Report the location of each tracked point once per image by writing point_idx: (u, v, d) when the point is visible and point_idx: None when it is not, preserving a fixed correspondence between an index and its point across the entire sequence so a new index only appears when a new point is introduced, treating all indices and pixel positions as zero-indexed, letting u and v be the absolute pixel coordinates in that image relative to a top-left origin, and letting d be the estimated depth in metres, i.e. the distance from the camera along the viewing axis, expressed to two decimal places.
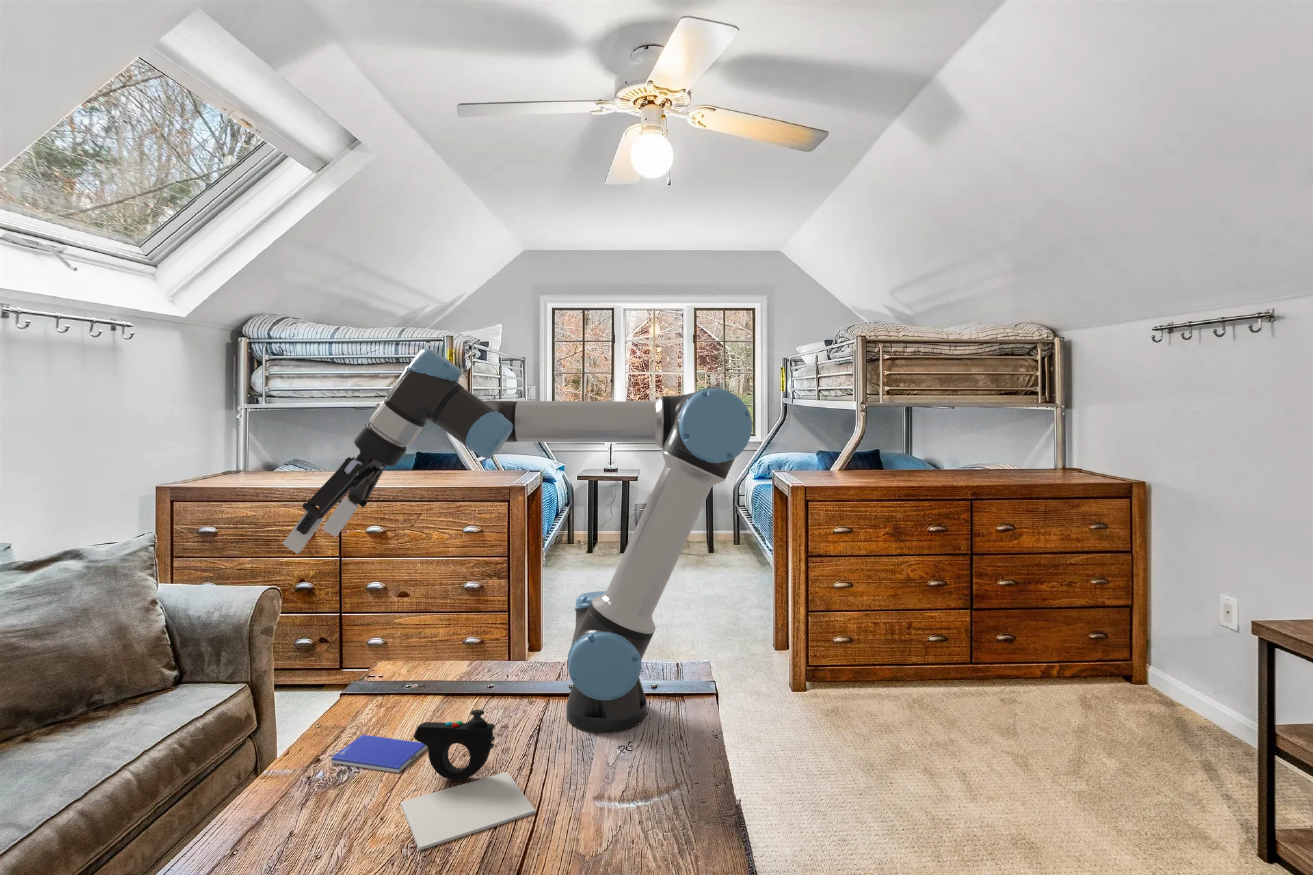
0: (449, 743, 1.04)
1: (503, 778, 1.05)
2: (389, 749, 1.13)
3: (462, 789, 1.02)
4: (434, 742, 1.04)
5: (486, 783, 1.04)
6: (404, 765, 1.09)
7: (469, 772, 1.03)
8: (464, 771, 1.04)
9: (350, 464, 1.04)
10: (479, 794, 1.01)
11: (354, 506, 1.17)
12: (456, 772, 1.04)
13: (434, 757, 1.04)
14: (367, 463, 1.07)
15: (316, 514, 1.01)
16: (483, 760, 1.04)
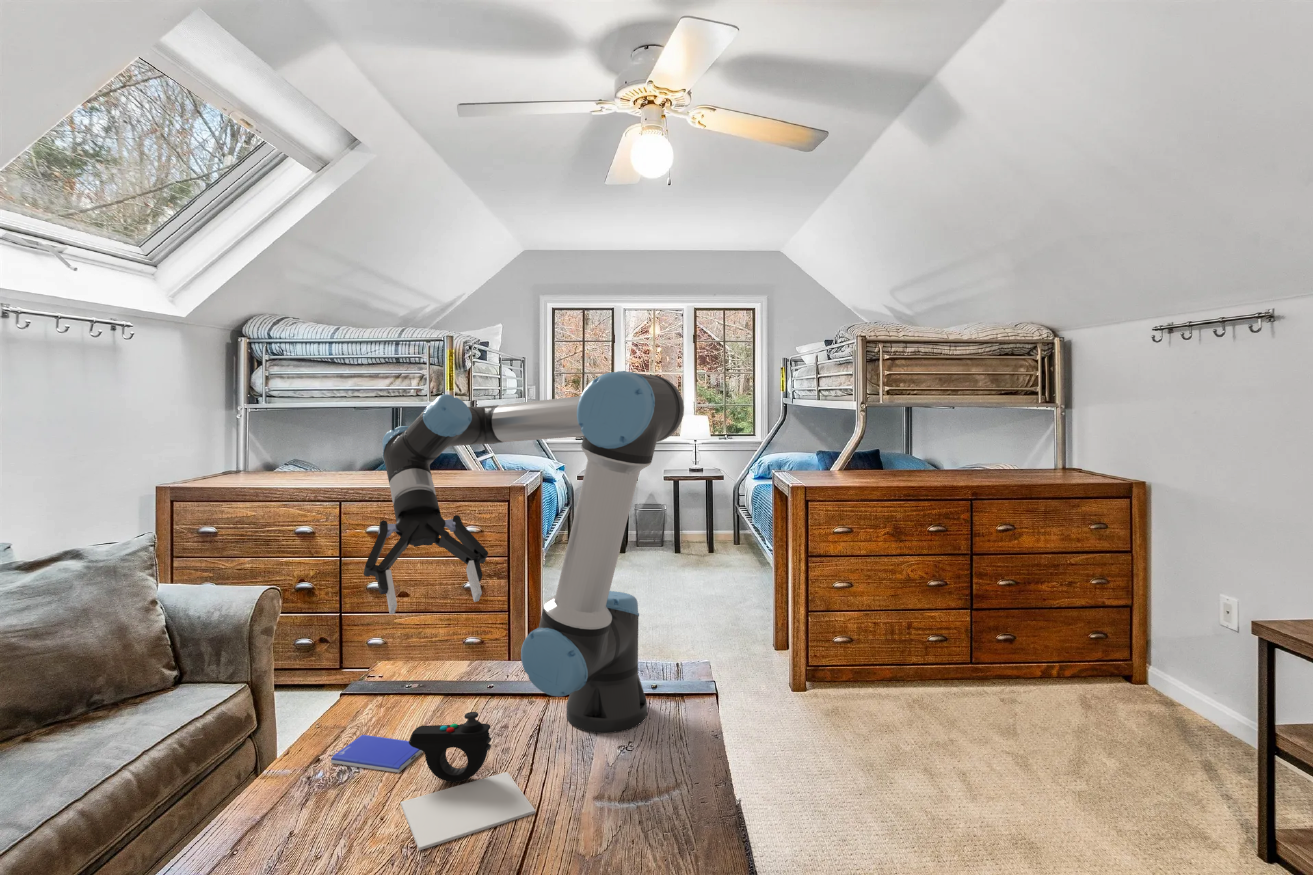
0: (445, 748, 1.04)
1: (503, 778, 1.05)
2: (389, 749, 1.13)
3: (462, 789, 1.02)
4: (430, 747, 1.03)
5: (486, 783, 1.04)
6: (404, 765, 1.09)
7: (468, 774, 1.03)
8: (463, 774, 1.03)
9: None
10: (479, 794, 1.01)
11: (469, 563, 1.17)
12: (455, 774, 1.04)
13: (432, 762, 1.04)
14: (399, 519, 1.18)
15: (365, 566, 1.09)
16: (481, 762, 1.04)
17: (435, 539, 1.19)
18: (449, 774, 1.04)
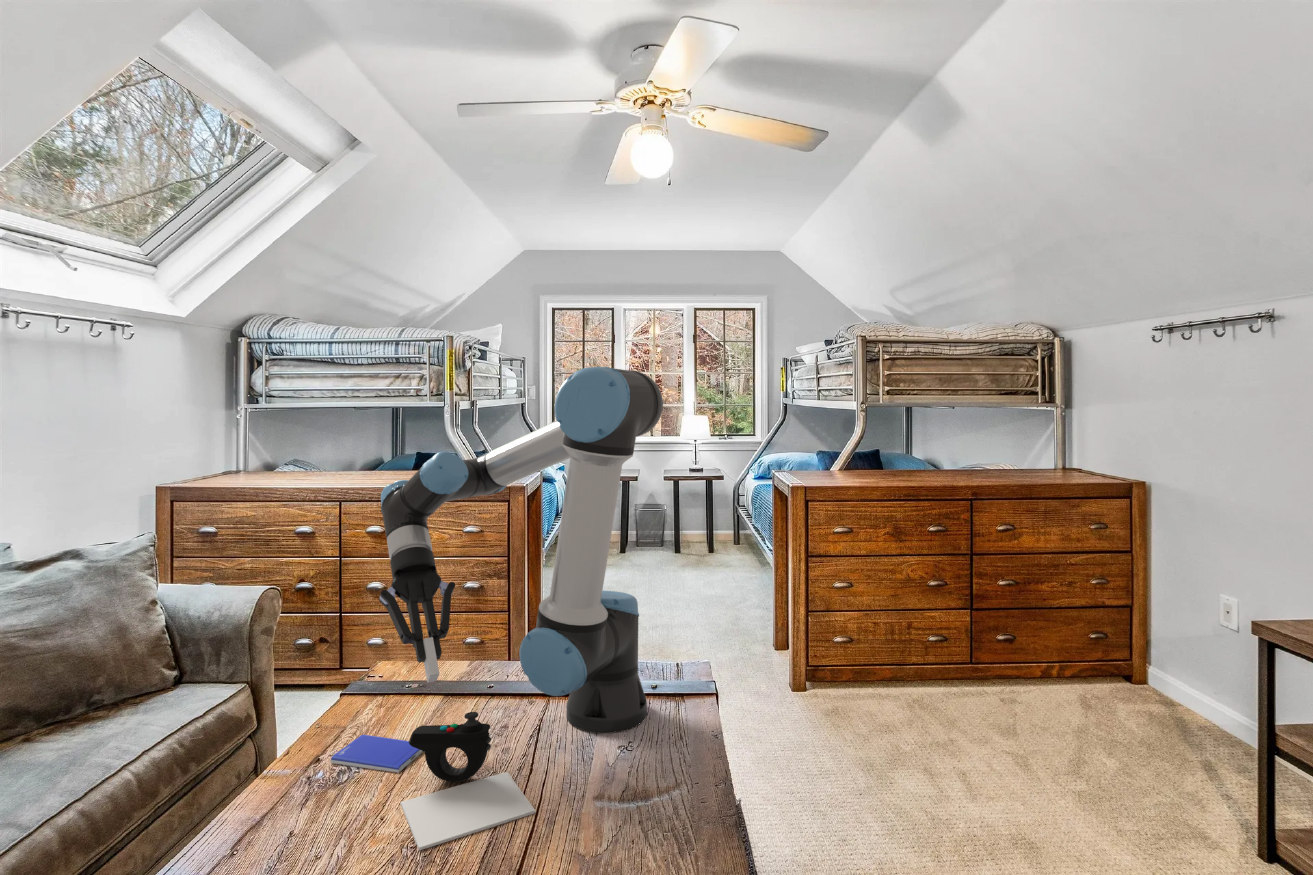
0: (445, 748, 1.04)
1: (503, 778, 1.05)
2: (389, 749, 1.13)
3: (462, 789, 1.02)
4: (430, 747, 1.03)
5: (486, 783, 1.04)
6: (404, 765, 1.09)
7: (468, 774, 1.03)
8: (463, 774, 1.03)
9: (381, 599, 1.17)
10: (479, 794, 1.01)
11: None
12: (455, 774, 1.04)
13: (432, 762, 1.04)
14: None
15: (405, 637, 1.13)
16: (481, 762, 1.04)
17: None
18: (449, 774, 1.04)
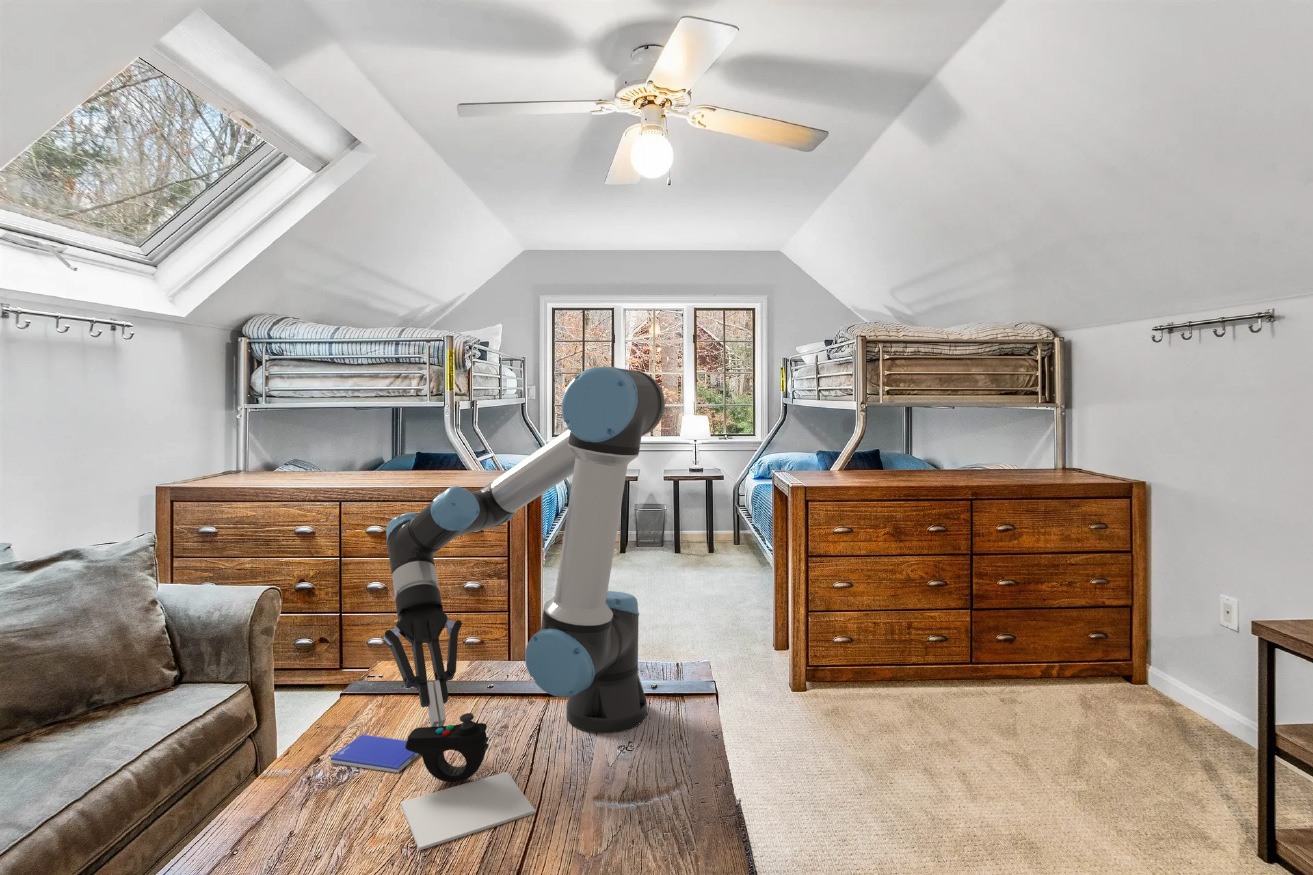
0: (443, 751, 1.03)
1: (503, 778, 1.05)
2: (389, 749, 1.13)
3: (462, 789, 1.02)
4: (427, 751, 1.03)
5: (486, 783, 1.04)
6: (403, 765, 1.09)
7: (467, 775, 1.03)
8: (462, 774, 1.03)
9: (385, 639, 1.13)
10: (479, 794, 1.01)
11: (434, 683, 1.10)
12: (455, 775, 1.04)
13: (430, 765, 1.03)
14: None
15: (408, 680, 1.09)
16: (480, 762, 1.03)
17: None
18: (448, 775, 1.04)
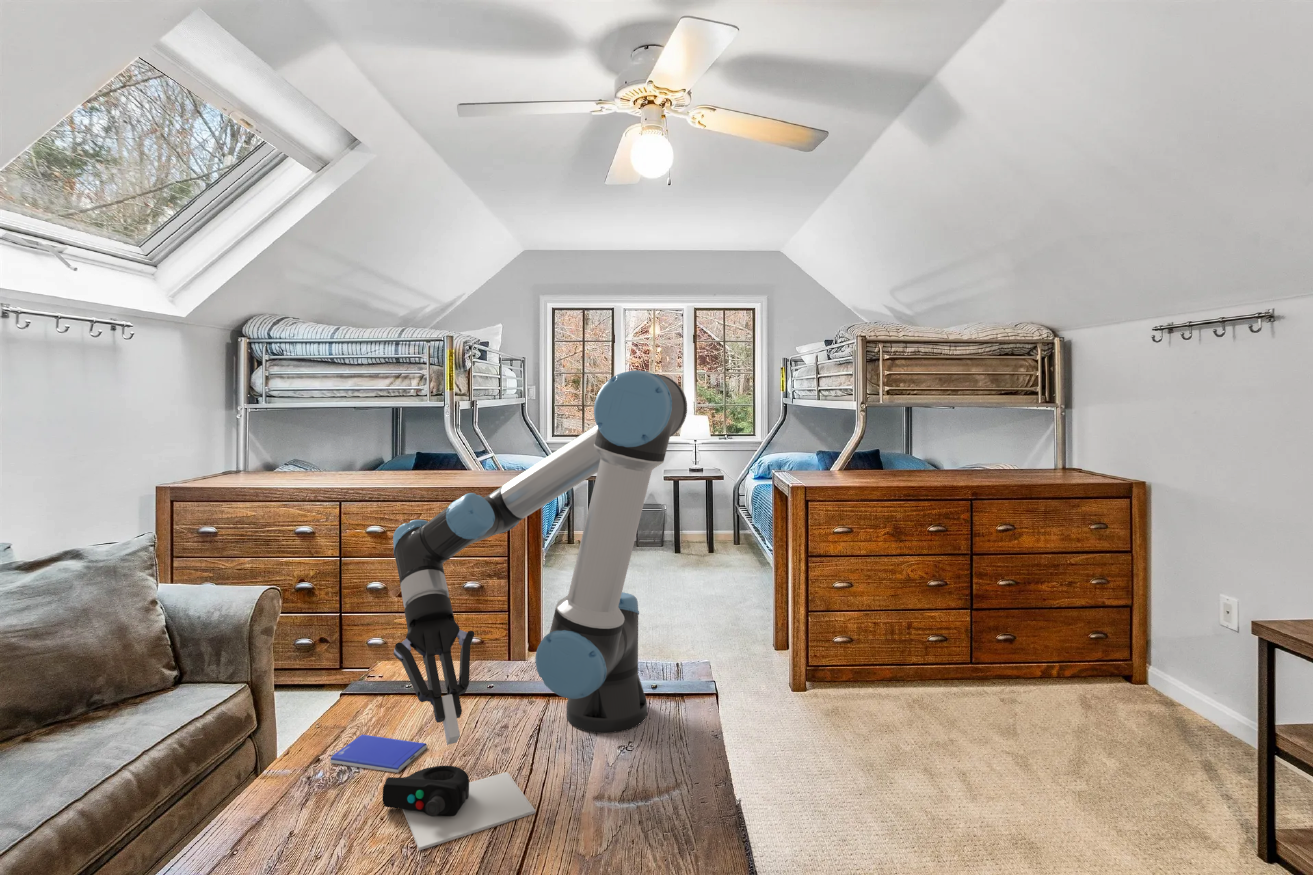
0: None
1: (503, 778, 1.05)
2: (389, 749, 1.13)
3: None
4: None
5: (486, 783, 1.04)
6: (403, 765, 1.09)
7: None
8: None
9: (395, 653, 1.08)
10: (479, 794, 1.01)
11: None
12: None
13: None
14: None
15: (422, 695, 1.04)
16: None
17: None
18: None
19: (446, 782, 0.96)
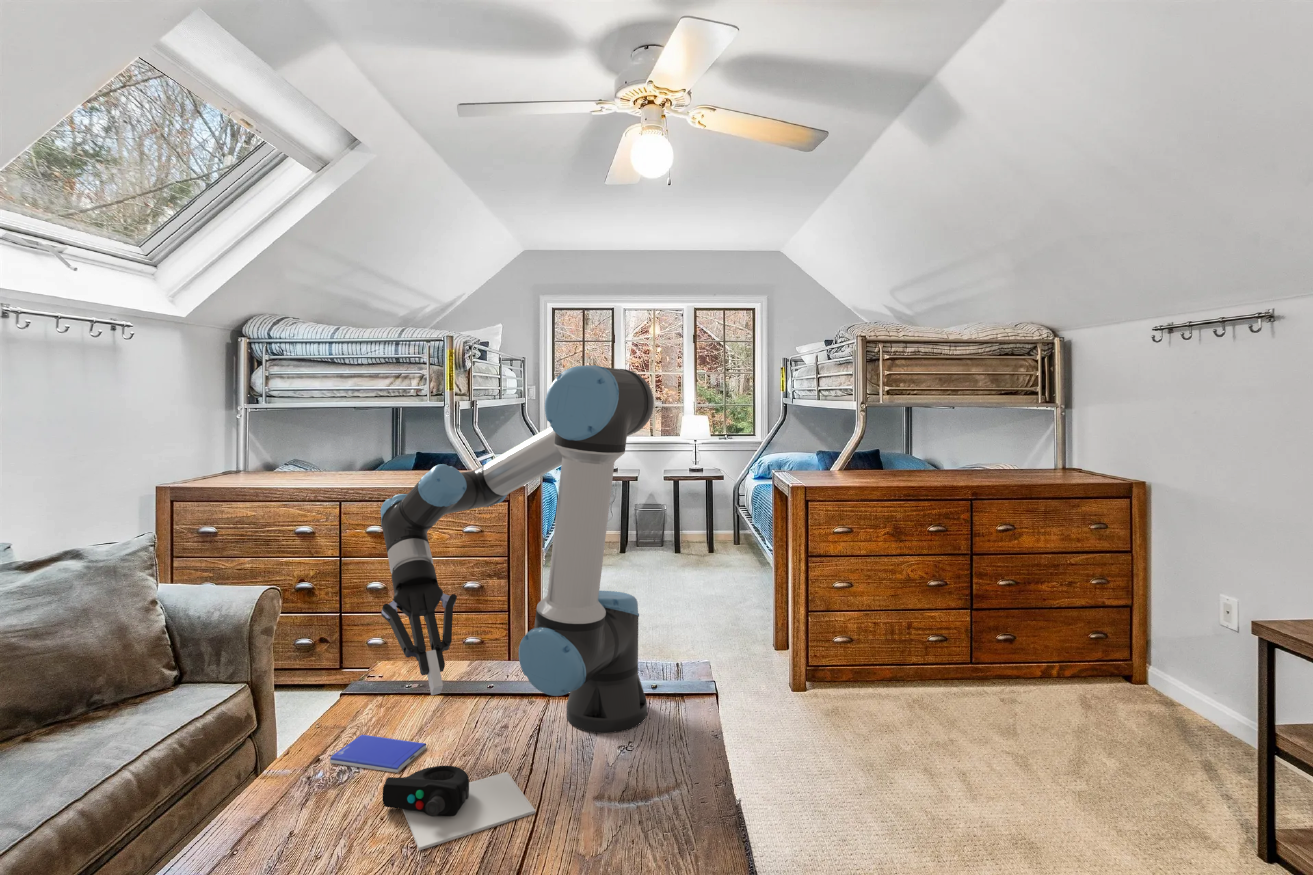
0: None
1: (503, 778, 1.05)
2: (388, 749, 1.13)
3: None
4: None
5: (486, 783, 1.04)
6: (403, 765, 1.09)
7: None
8: None
9: (383, 613, 1.17)
10: (479, 794, 1.01)
11: None
12: None
13: None
14: (394, 595, 1.19)
15: (408, 650, 1.13)
16: None
17: None
18: None
19: (446, 782, 0.96)
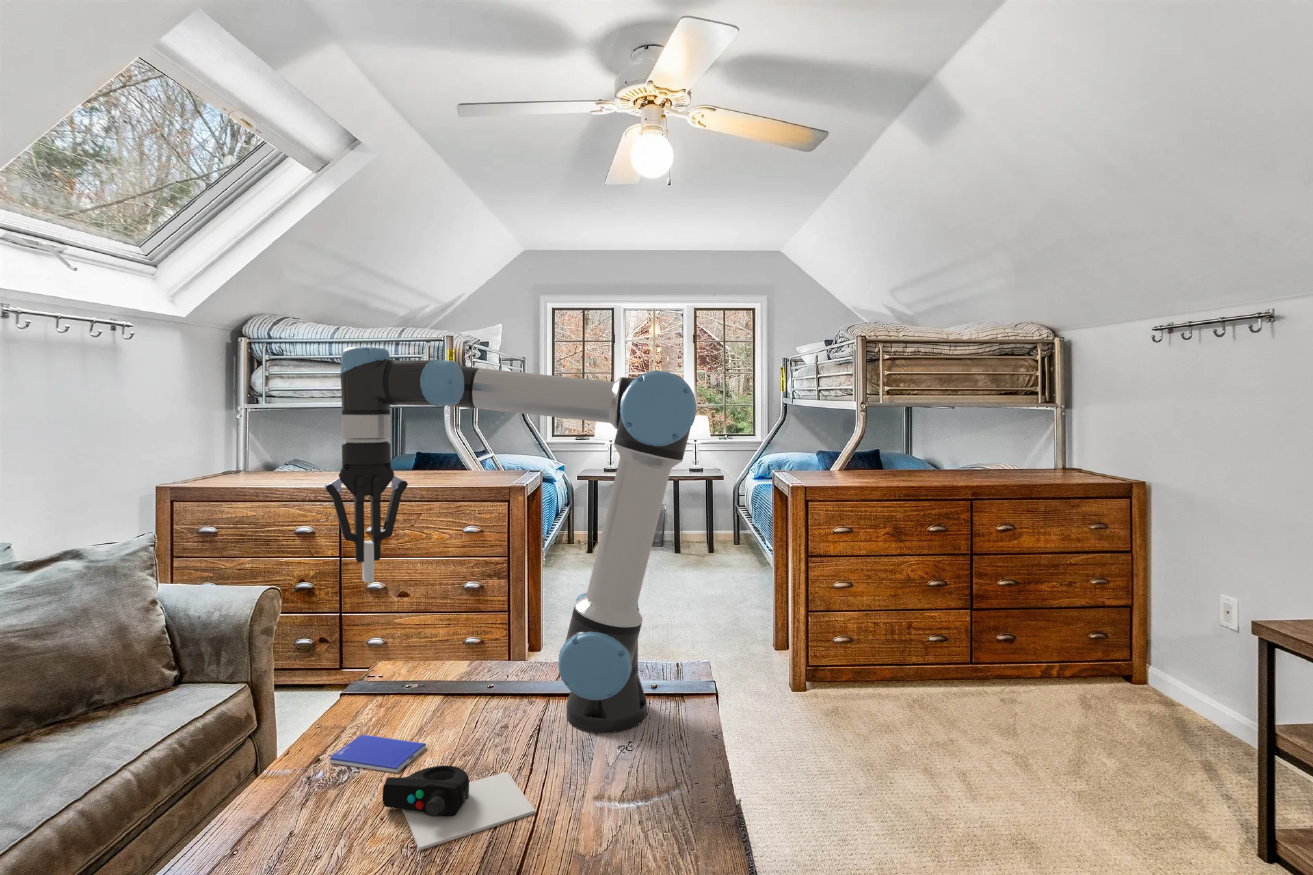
0: None
1: (503, 778, 1.05)
2: (388, 749, 1.13)
3: None
4: None
5: (486, 783, 1.04)
6: (402, 765, 1.09)
7: None
8: None
9: None
10: (479, 794, 1.01)
11: None
12: None
13: None
14: (340, 474, 1.11)
15: (345, 539, 1.12)
16: None
17: None
18: None
19: (446, 782, 0.96)
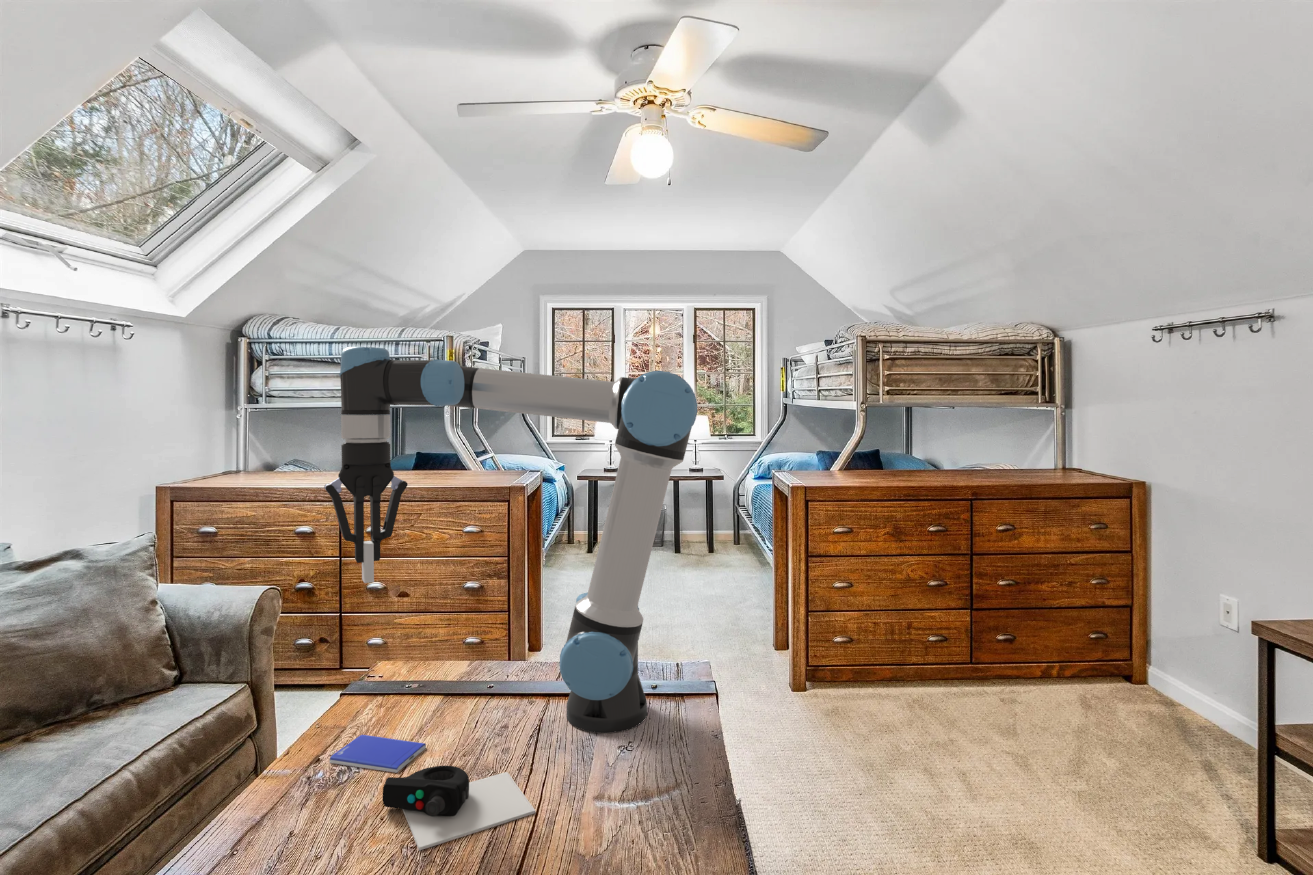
0: None
1: (503, 778, 1.05)
2: (388, 749, 1.13)
3: None
4: None
5: (486, 783, 1.04)
6: (402, 765, 1.09)
7: None
8: None
9: (326, 490, 1.11)
10: (479, 794, 1.01)
11: None
12: None
13: None
14: (340, 474, 1.11)
15: None
16: None
17: None
18: None
19: (446, 782, 0.96)
